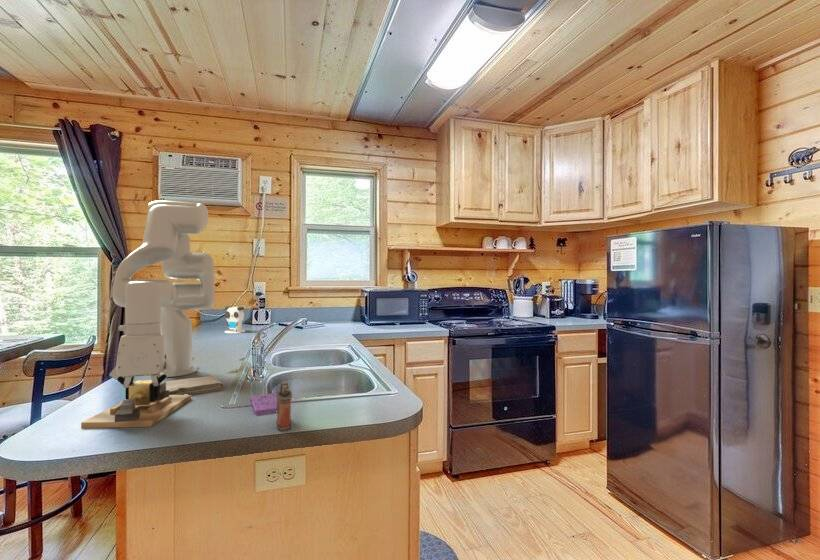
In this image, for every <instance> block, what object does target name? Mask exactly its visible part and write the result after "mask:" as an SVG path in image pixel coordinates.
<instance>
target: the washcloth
mask: <svg viewBox="0 0 820 560" xmlns="http://www.w3.org/2000/svg"><path fill="white" fill-rule="evenodd" d="M165 382H166V390H169V395H184V394H190V395H193V394H192V393H196V394H201V392H202V393H206V392H215V391H220V390H222V389H223V388H224V387H225V384H224V383H223V382H221V381H220V380H218V379H217V378H216V377H214V376H213V375H207V376H200V377H199V376H198V377H189V378H188V377H187V378H181V379H176V380H169V381H168V380H167V381H165ZM214 390H215V391H214Z"/></svg>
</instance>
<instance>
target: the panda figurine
mask: <svg viewBox="0 0 820 560" xmlns="http://www.w3.org/2000/svg"><path fill="white" fill-rule="evenodd" d="M244 310H245V307H244V306H231V305H230V306H229V305H228V306H225V308H224V311H225V312H224V313H225V314H224V318H225V320H226V321H227V323H226V325H227V326H228V330H224V333H225V334H242V333H241V332H243V333H245V332H246V330H244V329H243V325H242V323H243V321H244V318H245V313H244Z"/></svg>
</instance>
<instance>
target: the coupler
mask: <svg viewBox="0 0 820 560" xmlns="http://www.w3.org/2000/svg"><path fill="white" fill-rule="evenodd" d="M152 384H153V383H152V379H143V380H140V379H139V380H135V381H134V382H133V384H131V385H130V386H129V400H130V399H135V406H139V405H149V404H151V403H152V402H151V387H152Z"/></svg>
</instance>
